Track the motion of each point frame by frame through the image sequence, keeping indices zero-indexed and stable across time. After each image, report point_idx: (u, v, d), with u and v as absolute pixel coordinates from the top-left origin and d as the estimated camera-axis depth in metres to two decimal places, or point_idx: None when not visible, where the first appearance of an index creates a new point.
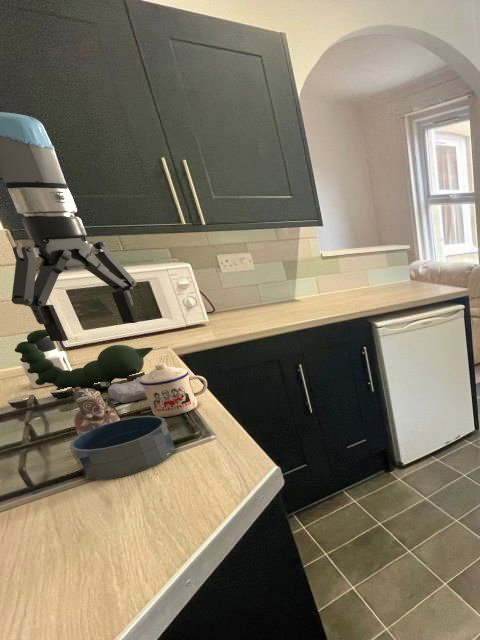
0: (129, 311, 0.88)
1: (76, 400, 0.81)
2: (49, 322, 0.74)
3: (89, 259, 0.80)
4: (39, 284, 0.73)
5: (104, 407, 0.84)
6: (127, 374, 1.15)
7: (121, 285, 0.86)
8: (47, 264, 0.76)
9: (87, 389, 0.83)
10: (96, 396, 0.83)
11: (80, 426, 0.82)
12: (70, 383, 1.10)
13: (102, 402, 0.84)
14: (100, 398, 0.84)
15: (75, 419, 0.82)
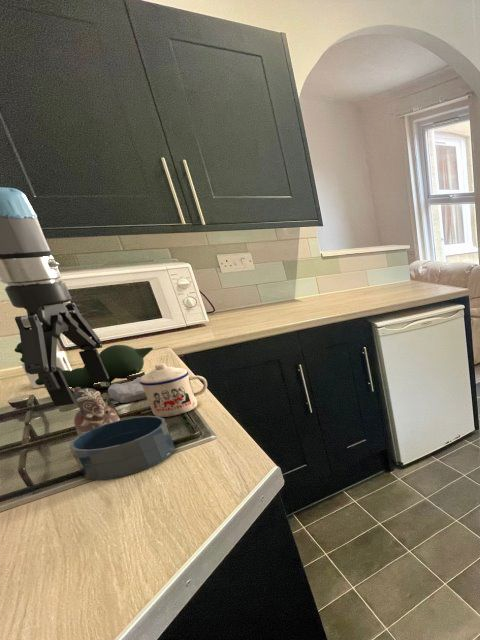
0: (102, 368, 0.88)
1: (76, 400, 0.81)
2: (59, 387, 0.75)
3: (72, 321, 0.80)
4: None
5: (104, 407, 0.84)
6: (127, 374, 1.15)
7: (92, 343, 0.86)
8: None
9: (87, 389, 0.83)
10: (96, 396, 0.83)
11: (80, 426, 0.82)
12: (70, 383, 1.10)
13: (102, 402, 0.84)
14: (100, 398, 0.84)
15: (75, 419, 0.82)
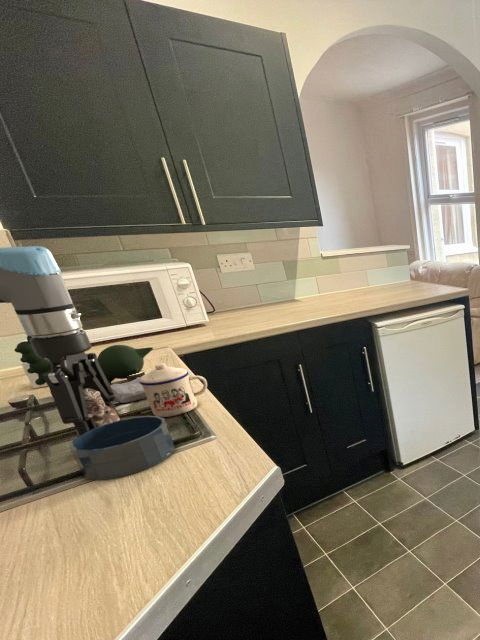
0: None
1: None
2: None
3: (91, 367, 0.84)
4: None
5: (104, 407, 0.84)
6: (127, 374, 1.15)
7: (106, 396, 0.88)
8: None
9: (87, 389, 0.83)
10: (96, 396, 0.83)
11: None
12: None
13: (102, 402, 0.84)
14: (100, 398, 0.84)
15: None
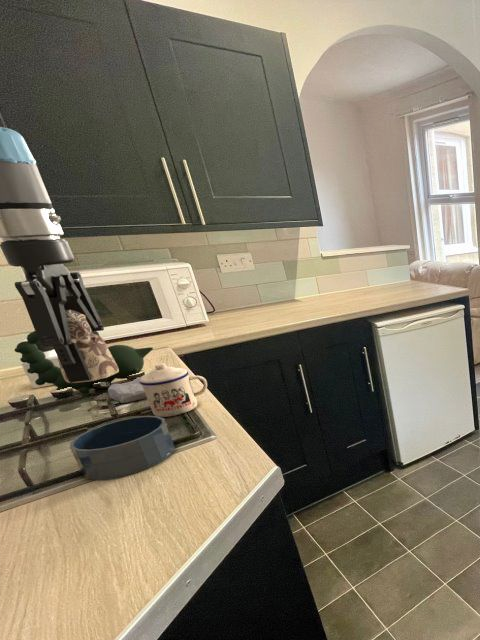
0: None
1: None
2: (75, 361, 0.70)
3: (74, 285, 0.72)
4: None
5: (90, 333, 0.72)
6: (127, 374, 1.15)
7: (92, 323, 0.76)
8: None
9: (70, 310, 0.71)
10: (81, 319, 0.72)
11: None
12: (70, 383, 1.10)
13: (88, 327, 0.72)
14: (85, 322, 0.72)
15: None
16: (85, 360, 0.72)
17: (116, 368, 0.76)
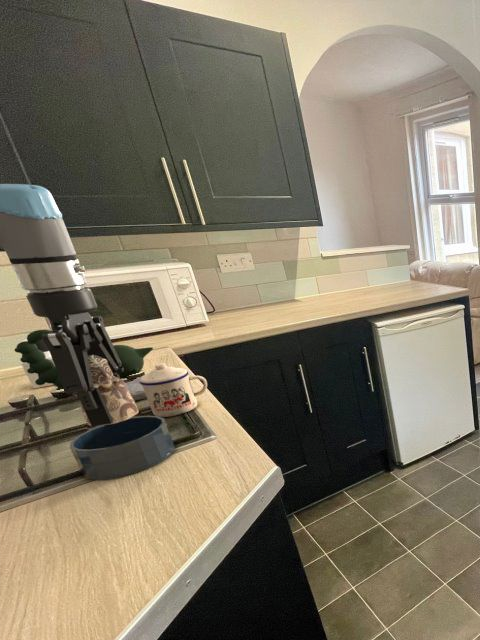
0: None
1: None
2: (97, 406, 0.72)
3: (97, 331, 0.74)
4: None
5: (112, 377, 0.74)
6: (127, 374, 1.15)
7: (113, 366, 0.78)
8: None
9: (92, 356, 0.73)
10: (103, 364, 0.73)
11: None
12: None
13: (109, 371, 0.74)
14: (107, 366, 0.74)
15: None
16: (107, 404, 0.74)
17: (136, 409, 0.78)
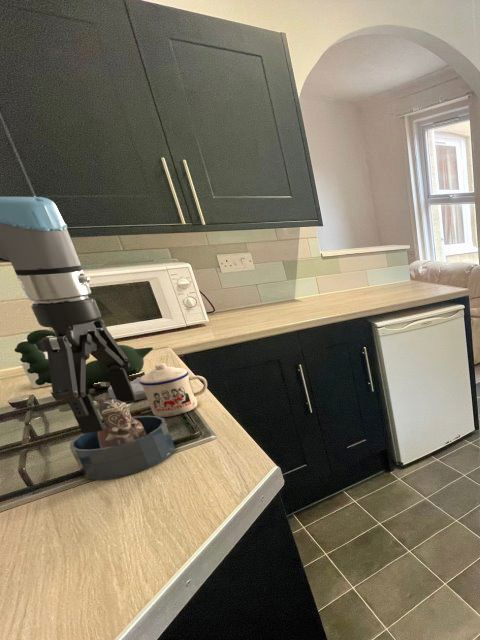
0: (129, 389, 0.82)
1: (101, 412, 0.74)
2: (88, 413, 0.69)
3: (100, 340, 0.74)
4: None
5: (130, 420, 0.77)
6: (127, 374, 1.15)
7: (119, 363, 0.80)
8: None
9: (113, 400, 0.76)
10: (122, 408, 0.76)
11: (105, 441, 0.75)
12: None
13: (128, 414, 0.77)
14: (126, 410, 0.77)
15: (99, 433, 0.75)
16: None
17: None
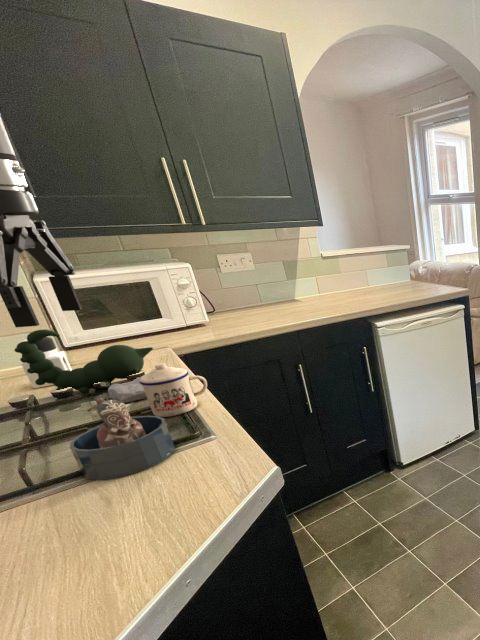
0: (73, 297, 0.81)
1: (100, 413, 0.74)
2: (20, 305, 0.68)
3: (39, 239, 0.74)
4: None
5: (129, 420, 0.77)
6: (127, 374, 1.15)
7: (63, 269, 0.79)
8: None
9: (111, 401, 0.76)
10: (121, 408, 0.76)
11: (104, 441, 0.75)
12: (70, 383, 1.10)
13: (127, 415, 0.77)
14: (125, 410, 0.77)
15: (98, 434, 0.75)
16: None
17: None
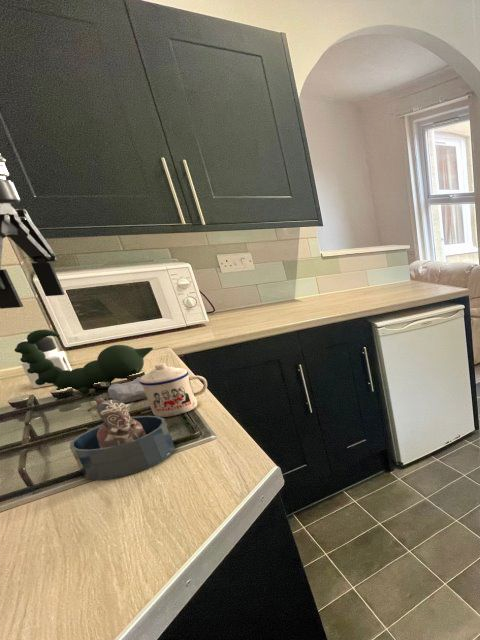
0: (56, 283, 0.85)
1: (100, 413, 0.74)
2: (4, 287, 0.72)
3: (21, 226, 0.78)
4: None
5: (129, 420, 0.77)
6: (127, 374, 1.15)
7: (45, 255, 0.83)
8: None
9: (111, 401, 0.76)
10: (121, 408, 0.76)
11: (104, 441, 0.75)
12: (70, 383, 1.10)
13: (127, 415, 0.77)
14: (125, 410, 0.77)
15: (98, 434, 0.75)
16: None
17: None
